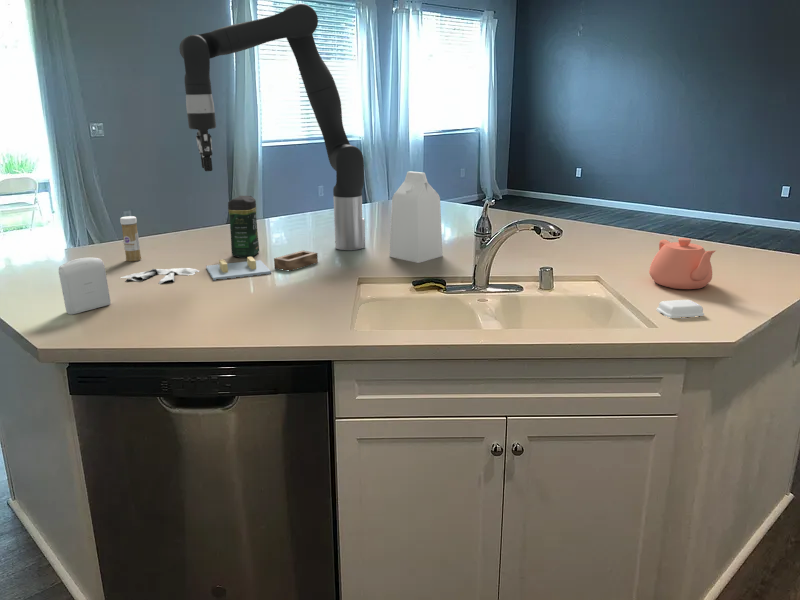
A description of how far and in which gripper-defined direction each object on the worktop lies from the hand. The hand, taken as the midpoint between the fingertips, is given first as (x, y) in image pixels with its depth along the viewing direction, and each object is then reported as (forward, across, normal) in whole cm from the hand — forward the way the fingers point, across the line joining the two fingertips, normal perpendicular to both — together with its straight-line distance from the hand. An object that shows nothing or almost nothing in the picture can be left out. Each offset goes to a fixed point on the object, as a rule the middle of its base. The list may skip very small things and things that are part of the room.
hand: (207, 169), depth 187 cm
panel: (+28, -13, -5) cm, 31 cm away
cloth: (+29, -11, +18) cm, 35 cm away
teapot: (+29, -71, -112) cm, 136 cm away
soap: (+29, -89, -95) cm, 133 cm away
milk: (+29, -16, -59) cm, 67 cm away
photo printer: (+28, -34, +33) cm, 55 cm away
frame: (+28, -13, -22) cm, 38 cm away
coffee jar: (+28, +6, -10) cm, 30 cm away
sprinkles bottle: (+28, +13, +24) cm, 39 cm away
